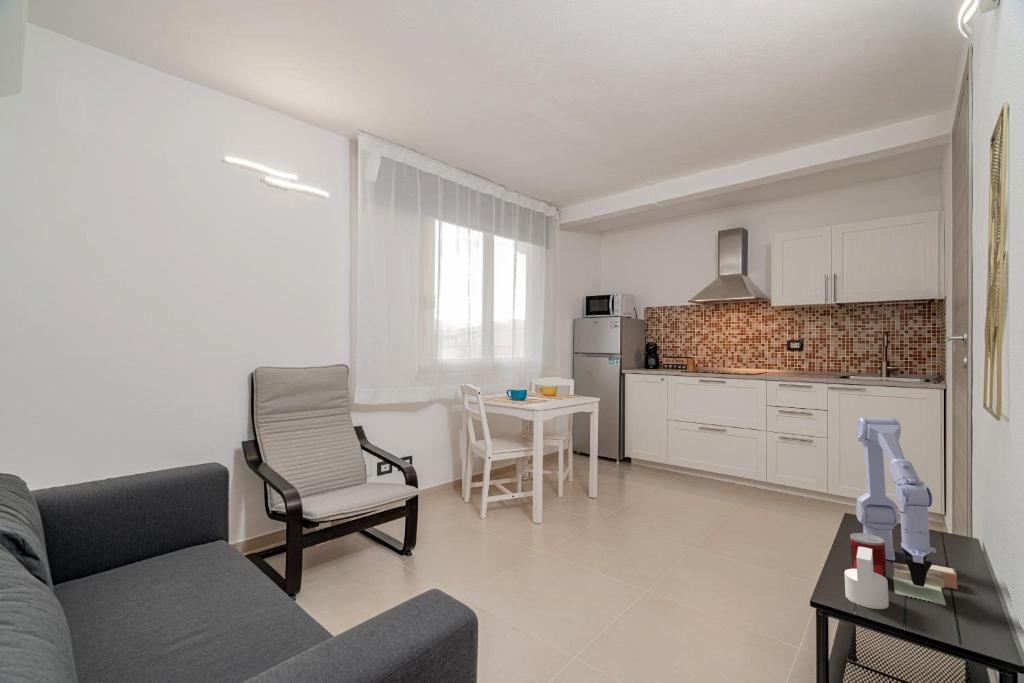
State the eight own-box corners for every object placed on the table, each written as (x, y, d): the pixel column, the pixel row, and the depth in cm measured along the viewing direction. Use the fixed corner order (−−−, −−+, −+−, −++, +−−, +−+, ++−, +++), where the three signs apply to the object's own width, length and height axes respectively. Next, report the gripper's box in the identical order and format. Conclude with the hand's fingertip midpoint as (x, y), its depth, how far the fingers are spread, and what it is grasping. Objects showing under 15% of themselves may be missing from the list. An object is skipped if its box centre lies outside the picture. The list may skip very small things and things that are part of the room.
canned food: (892, 583, 130) (890, 543, 130) (860, 581, 131) (858, 542, 132) (877, 571, 137) (875, 533, 138) (846, 569, 139) (844, 532, 139)
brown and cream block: (912, 574, 135) (911, 560, 135) (954, 583, 129) (954, 568, 129) (913, 580, 131) (912, 566, 131) (957, 589, 126) (956, 574, 126)
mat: (893, 577, 133) (893, 576, 133) (940, 587, 127) (940, 586, 127) (894, 594, 124) (894, 592, 124) (945, 605, 118) (945, 604, 118)
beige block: (893, 569, 131) (892, 562, 131) (941, 579, 125) (941, 571, 125) (894, 577, 126) (893, 570, 126) (944, 587, 120) (944, 580, 120)
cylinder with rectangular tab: (846, 587, 128) (844, 543, 129) (888, 597, 122) (886, 551, 123) (844, 601, 121) (841, 554, 122) (888, 613, 116) (886, 563, 116)
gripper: (938, 541, 118) (940, 596, 117) (931, 524, 129) (934, 574, 129) (901, 535, 122) (904, 588, 122) (898, 519, 134) (901, 567, 133)
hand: (917, 580), depth 126 cm, fingers closed on beige block, 6 cm apart
